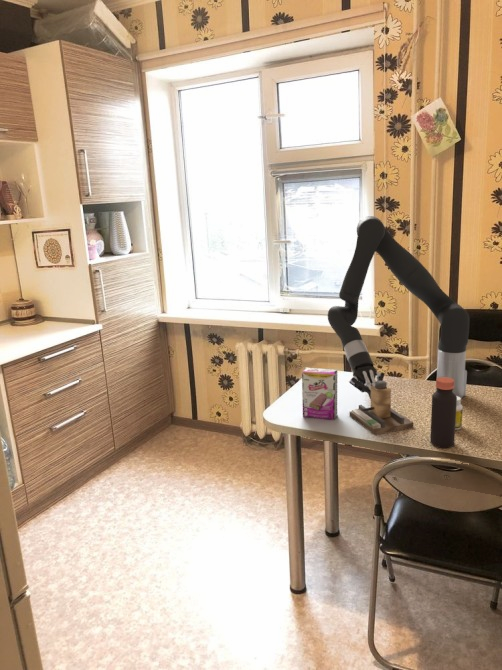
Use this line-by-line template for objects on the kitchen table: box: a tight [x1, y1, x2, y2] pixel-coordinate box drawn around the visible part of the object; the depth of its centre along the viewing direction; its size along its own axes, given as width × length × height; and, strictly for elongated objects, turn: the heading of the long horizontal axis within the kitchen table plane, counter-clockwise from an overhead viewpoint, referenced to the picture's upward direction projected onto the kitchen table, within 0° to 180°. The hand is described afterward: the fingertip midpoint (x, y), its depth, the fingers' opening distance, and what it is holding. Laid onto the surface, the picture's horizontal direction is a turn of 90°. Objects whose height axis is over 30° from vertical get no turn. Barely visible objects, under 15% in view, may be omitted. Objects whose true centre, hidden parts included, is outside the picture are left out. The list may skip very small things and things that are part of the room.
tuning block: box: [363, 380, 392, 419], centre depth 179 cm, size 9×4×12 cm, turn 109°
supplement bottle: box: [455, 396, 464, 431], centre depth 174 cm, size 5×5×10 cm
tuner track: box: [349, 404, 414, 436], centre depth 181 cm, size 14×16×4 cm
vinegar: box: [429, 377, 457, 449], centre depth 162 cm, size 7×7×20 cm
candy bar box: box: [301, 367, 338, 421], centre depth 185 cm, size 11×5×16 cm, turn 71°
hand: (376, 401), depth 182 cm, fingers closed
